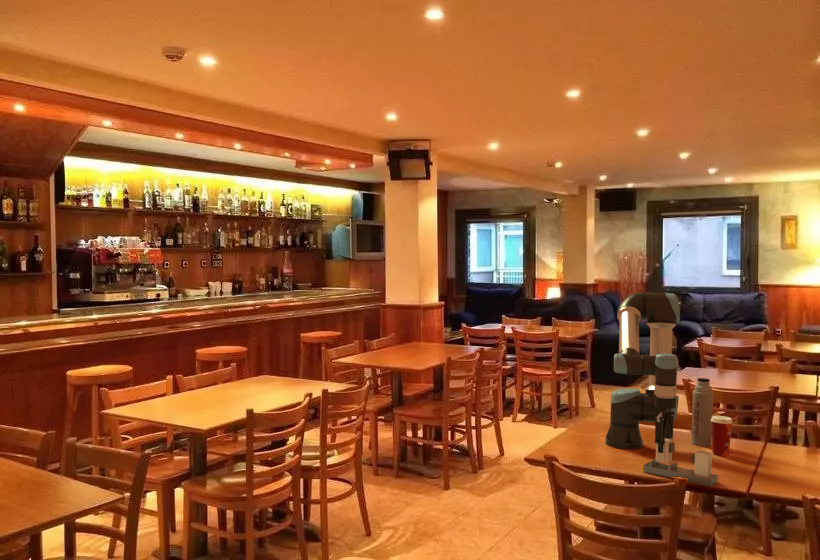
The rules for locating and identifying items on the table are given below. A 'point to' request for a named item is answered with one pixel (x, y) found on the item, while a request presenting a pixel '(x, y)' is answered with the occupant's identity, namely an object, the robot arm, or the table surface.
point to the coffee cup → (721, 435)
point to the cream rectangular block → (668, 450)
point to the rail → (694, 476)
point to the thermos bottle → (702, 413)
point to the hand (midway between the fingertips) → (663, 459)
